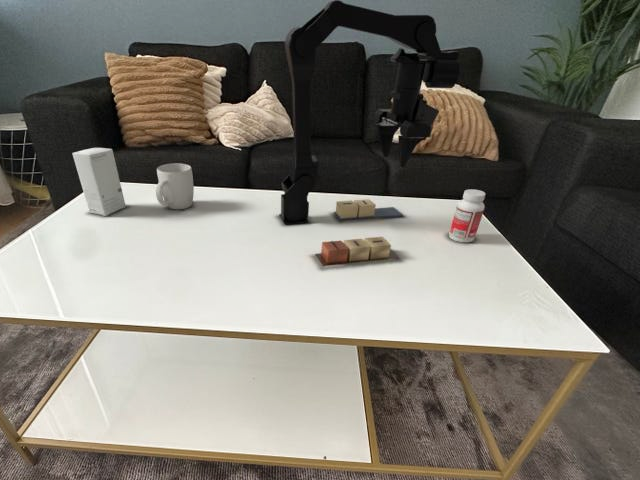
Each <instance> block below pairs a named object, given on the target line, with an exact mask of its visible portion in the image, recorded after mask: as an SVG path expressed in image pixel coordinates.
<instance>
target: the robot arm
mask: <svg viewBox="0 0 640 480" xmlns="http://www.w3.org/2000/svg"><path fill="white" fill-rule="evenodd" d="M338 27H340V28H344V29H349V30H353V31H358V32H363V33H368V34H372V35H375V36H381V37H385V38H386V39H389V40H390V41H392V42H394V43H396V44H398V45H399V46H401V47H404V48H406V49H408V50H413V51H415V52H406V51H405V49H404V48H401V47H399V48H398V50H397V51H396V52H395V53H394V54H393V55H392V56H391V57H390V58H389V60H390V62H394V63H398V67H397V72H396V79H395V84H394V90H391V91H390V93H389V97H391V98H392V102H391V108H377V110H376V111H375V112H373V118H372V122H373V123H374V127H375V128H376V131H377V132H376V133H377V135H378V136H377V137H378V140H379V142H380V147H381V152H382V157H384V158H388V157H389V155H390V152H391V149H392V145H393V142H394V141H393V140H394V136H395V135H396V134H395V133H396V132H397V131H398V130H399V134H400V135H398V137H397V139H398V141H397V142H398V157H399V158H398V159H399V167H400V168H405V167H406V165H407V163H408V161H409V160H410V158H411V155H412V154H413V152H414V150H415V149H416V147H417V145H418V144H419V143H421V142H423V141H426V140H427V138H431V136H432V132H433V125H434V122H435V121H436V119H437V117H438V115H439V113H440V110H439V109H438V108H437V109H436V108H435V107H433V106H432V105H429V104H428V101H427V100H426V99H424V97H425V96H424V94H423V93H421V88H422V84H423V83H424V85H425V87H426V88H428V89H453V88H454V87H455V85H456V84H457V82H458V80H459V78H460V73H461V70H460V67H461V65H460V59H459V57H460V51H456V50H450V51H442V50H441V46H440V44H439V41H438V38H437V35H436V33H437V24H436V21H435V18H434V17H433V16H431V15H428V14H391V13H387V12H383V11H378V10H374V9H371V8H366V7H362V6H357V5H353V4H350V3H345V2H343V1H341V0H330V1H329V2H327V3H326V4H325V6H324V7H323V8H321V10H320V11H318V12H317V13H316V14H315V15H313V16H312V18H310V19H309V20H307V22H305V23H304V24H303V25H302V26H296V27H295V26H294V27H293V28H292V29H290V30H289V32H288V33H287V34H286V36H285V39H284V49H285V54H286V61H287V64H288V69H289V73H290V79H291V83H292V84H291V93H292V94H291V95H292V97H291V98H292V124H293V125H292V128H293V129H292V130H293V132H292V134H293V151H292V156H291V160H290V169H289V174H288V175H287V176H286V177H285V178H284V179H283V181H281V182H280V185H281V188H282V190H283V194H280V213H279V214H278V215H279V218H280V220H281V222H282V223H283V224H284V225H297V224H307V223H309V219H308V218H309V213H310V212H309V211H310V202H309V201H308V196H309V194H310V192H312V191H313V189H315V188H316V185H317V181H318V180H320V178H319V175H318V170H319V161H318V159H317V158H316V156H315V155H314V154H313V155H312V151H311V147H312V146H311V145H312V142H311V141H312V140H311V81H312V80H311V79H312V75H313V72H314V68H315V62H316V55H317V48H318V47H319V46H320V45H321V44H323V43H324V41H326V39H327V38H328V37H329V36H330V35H331V34H332V33H333V32H334V31H335V30H336V29H337V28H338ZM419 55H420V56H425V57H427V58H426V59H424V58H423V59H421V58H420V56H419Z"/></svg>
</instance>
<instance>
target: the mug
mask: <svg viewBox="0 0 640 480" xmlns="http://www.w3.org/2000/svg"><path fill="white" fill-rule="evenodd" d="M156 174H157V180H158V183H157V185H156V188H155V197H156V200H157V202H158V203H159V204H160V205H161V206H165V207H168V208H169V209H172V210H185V209H188V208H190V207H191V206H192V205H193V201H194V194H195V193H194V191H195V190H194V189H195V188H194V187H195V186H194V177H193V170H192V167H191V165H189V164H185V163H181V162H180V163H178V162H177V163H176V162H175V163H174V162H173V163H166V164H162V165H159V166H157V167H156Z"/></svg>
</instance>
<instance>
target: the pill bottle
mask: <svg viewBox="0 0 640 480" xmlns="http://www.w3.org/2000/svg"><path fill="white" fill-rule="evenodd" d="M485 198H486V192H485V191H483V190H480V189H475V188H474V189H472V188H471V189H465V190H464V192H463V195H462V199H460V200H459V201H458V202H457V205H456V207H455V211H454V213H453V218H452V222H451V225H450V228H449V233H448V236H449V238H450V239H451V240H453V241H455V242H458V243H472V242H473V241H475V239H476V236H477V233H478V230H479V227H480V224H481V220H482V217H483V214H484V211H485V207H486V206H485V203H484V200H485Z"/></svg>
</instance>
